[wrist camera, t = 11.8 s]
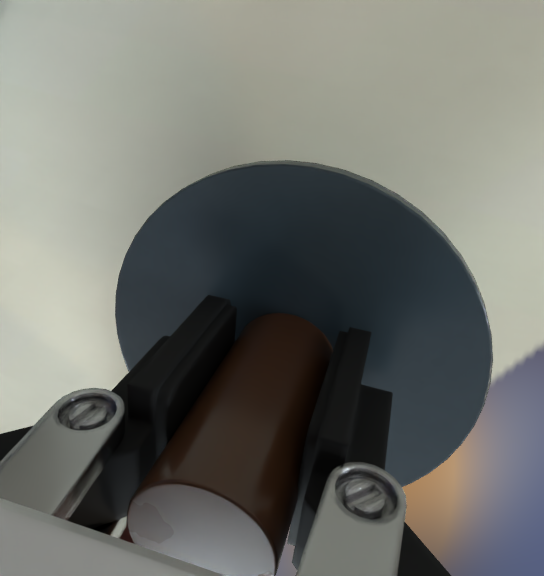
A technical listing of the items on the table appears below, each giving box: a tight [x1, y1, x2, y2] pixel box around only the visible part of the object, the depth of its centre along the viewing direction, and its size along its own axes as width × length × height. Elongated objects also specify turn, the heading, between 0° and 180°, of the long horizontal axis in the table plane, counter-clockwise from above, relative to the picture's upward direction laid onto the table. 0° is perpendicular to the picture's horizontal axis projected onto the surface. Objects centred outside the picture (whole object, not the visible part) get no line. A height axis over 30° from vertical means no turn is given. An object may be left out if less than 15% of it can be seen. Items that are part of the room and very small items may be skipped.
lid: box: [115, 160, 493, 576], centre depth 11 cm, size 10×10×7 cm
